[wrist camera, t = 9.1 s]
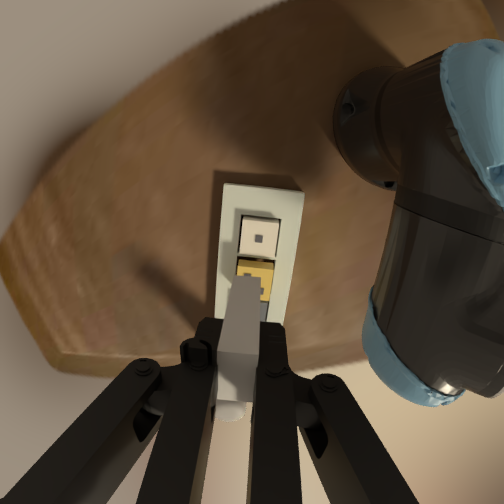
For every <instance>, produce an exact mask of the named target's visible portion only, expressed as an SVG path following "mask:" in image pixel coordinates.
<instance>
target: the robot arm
mask: <svg viewBox="0 0 504 504" xmlns="http://www.w3.org/2000/svg"><path fill="white" fill-rule="evenodd" d="M333 128H334V135H335V139H336V142H337V145H338V148H339V150H340V152H341V154H342V156H343V158H344V159H345V161H346V162H347V164H348V165H349V166H350V167H351V169H352V170H353V171H354V172H355V173H356V174H357V175H359V176H360V177H361V178H362V179H364V180H365V181H367V182H369V183H371V184H373V185H375V186H378V187H381V188H383V189H387V190H391V191H396V195H395V200H394V204H393V209H392V215H391V220H390V225H389V230H388V234H387V238H386V242H385V247H384V251H383V255H382V258H381V262H380V266H379V270H378V273H377V277H376V281H375V284H374V286H373V287H372V288H371V290H370V292H369V297H368V310H367V313H366V317H365V321H364V324H363V329H362V344H363V349H364V351H365V353H366V355H367V356H368V358H369V364H370V366H371V367H372V369H373V370H374V372H375V373H376V375H377V376H378V377H379V378H380V379H381V380H382V381H383V382H384V383H385V384H386V385H387V386H388V387H389V388H390V389H391V390H393V391H394V392H395V393H397V394H398V395H400V396H401V397H403V398H405V399H407V400H409V401H411V402H413V403H416V404H419V405H423V406H429V407H437V406H439V405H440V404H442V405H448V404H450V403H452V402H453V401H455V400H456V399H457V398H459V397H460V396H462V395H463V394H464V392H465V390H469V391H472V392H474V393H476V394H479V395H481V396H484V397H487V398H495V397H497V396H499V395H501V394H502V393H504V42H502V41H499V40H495V39H481V40H478V41H473V42H469V43H457V44H453V45H452V46H449V48H447V49H445V50H443V51H440V52H438V53H436V54H434V55H432V56H430V57H427V58H425V59H423V60H421V61H419V62H417V63H415V64H413V65H411V66H409V67H407V68H405V69H403V68H397V67H390V66H383V67H376V68H372V69H369V70H366V71H364V72H362V73H360V74H359V75H357V76H356V77H354V78H353V79H352V80H350V81H349V82H348V83H347V84H346V86H345V87H344V88H343V89H342V91H341V93H340V94H339V96H338V99H337V101H336V104H335V108H334V115H333ZM260 296H261V277H251V276H238V275H234V277H233V281H232V285H231V290H230V294H229V299H228V303H227V308H226V312H225V317H224V319H219V318H209V317H205V318H204V319H203V320H202V321H201V322H199V325H198V328H197V331H196V334H195V336H194V338H190V339H187V340H185V341H183V342H182V343H181V345H180V355H181V363H180V364H178V365H175V366H169V367H160V365H159V364H158V363H157V362H156V361H154V360H153V359H149V358H139V359H136V360H134V361H132V362H131V363H129V364H128V366H127V367H126V368H125V369H124V370H123V371H122V372H121V373H120V374H119V375H118V376H117V377H116V378H115V379H114V380H113V381H112V382H111V383H110V384H109V385H108V387H106V388H105V390H104V391H103V392H102V393H101V394H100V395H99V396H98V397H97V398H96V399H95V400H94V401H93V402H92V403H91V404H90V405H89V407H87V409H86V410H85V411H84V412H83V413H82V414H81V415H80V416H79V417H78V418H77V419H76V420H75V421H74V422H73V423H72V425H70V427H69V428H68V429H67V430H66V431H65V432H64V433H63V434H62V435H61V436H60V437H59V438H58V439H57V440H56V441H55V442H54V443H53V445H52V446H51V447H50V448H49V449H48V450H47V451H46V452H45V453H44V454H43V455H42V456H41V457H40V459H39V460H38V461H37V462H36V463H35V464H34V465H33V466H32V467H31V468H30V469H29V471H27V473H26V474H25V475H24V476H23V477H22V478H21V479H20V480H19V481H18V482H17V483H16V485H15V486H14V487H13V488H12V489H11V490H10V491H9V492H8V493H7V494H6V495H5V497H4V498H1V499H0V504H106V503H107V502H108V501H109V499H110V498H111V496H112V495H113V494H114V492H115V491H116V489H117V488H118V487H119V485H120V484H121V482H122V481H123V480H124V478H125V477H126V475H127V474H128V472H129V471H130V470H131V468H132V467H133V465H134V464H135V463H136V461H137V460H138V458H139V457H140V455H141V453H143V451H144V450H145V448H146V447H147V445H148V444H149V442H150V441H151V440H152V438H153V436H154V435H155V434H156V432H157V431H158V429H159V431H158V433H157V436H156V440H155V443H154V446H153V449H152V452H151V455H150V458H149V462H148V465H147V468H146V471H145V475H144V478H143V481H142V485H141V488H140V491H139V495H138V498H137V502H136V504H201V498H202V492H203V486H204V480H205V473H206V467H207V460H208V455H209V449H210V443H211V437H212V430H213V424H214V418H215V413H216V399H221V400H230V401H241V402H253V407H252V415H251V437H250V452H249V469H248V484H247V499H246V504H302V491H301V476H300V461H299V447H298V435H297V426H299V430H300V432H301V435H302V437H303V440H304V442H305V444H306V447H307V449H308V451H309V454H310V456H311V459H312V461H313V464H314V466H315V468H316V471H317V473H318V475H319V478H320V480H321V482H322V485H323V487H324V490H325V492H326V494H327V497H328V499H329V501H330V503H331V504H419V502H418V501H417V499H416V498H415V496H414V494H413V493H412V491H411V489H410V488H409V486H408V484H407V483H406V481H405V479H404V478H403V476H402V475H401V473H400V471H399V470H398V468H397V466H396V465H395V463H394V461H393V460H392V458H391V457H390V455H389V453H388V452H387V450H386V449H385V447H384V445H383V444H382V442H381V440H380V439H379V437H378V435H377V434H376V432H375V431H374V429H373V427H372V426H371V424H370V423H369V421H368V419H367V418H366V416H365V414H364V413H363V411H362V410H361V408H360V407H359V405H358V403H357V402H356V400H355V398H354V397H353V395H352V394H351V392H350V390H349V389H348V387H347V386H346V384H345V382H344V381H343V380H342V379H341V378H340V377H338V376H336V375H333V374H320V375H317V376H315V377H314V378H313V379H312V380H311V379H307V378H303V377H301V376H298V375H297V374H295V373H294V372H293V371H291V368H290V367H289V365H288V355H287V345H286V335H285V329H284V327H283V326H282V325H281V323H277V322H263V321H260Z"/></svg>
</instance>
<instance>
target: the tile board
mask: <svg viewBox="0 0 504 504" xmlns="http://www.w3.org/2000/svg"><path fill="white" fill-rule="evenodd" d="M304 197H305V193H304V192H302V191H295V190H287V189H279V188H271V187H262V186H253V185H244V184H234V183H225V184H224V189H223V200H222V212H221V225H220V238H219V252H218V267H217V282H216V299H215V318H219V319H224V317H225V312H226V308H227V303H228V299H229V294H230V290H231V285H232V281H233V277H234V275H236V266H237V256H244V257H253V258H262V259H271V260H275V261H274V272H273V279H272V285H271V292H270V299H269V301H268V308H267V314H266V321H265V322H277V323H281V325H282V326H283V321H284V316H285V311H286V305H287V300H288V294H289V289H290V283H291V278H292V272H293V266H294V260H295V254H296V248H297V242H298V236H299V230H300V223H301V217H302V210H303V203H304ZM241 214H243V215H252V216H261V217H270V218H278V219H280V225H279V233H278V240H277V247H276V252H275V258H274V257H265V256H256V255H246V254H239V252H240V248H238V245H239V234H240V224H241Z"/></svg>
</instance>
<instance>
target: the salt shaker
mask: <svg viewBox="0 0 504 504" xmlns="http://www.w3.org/2000/svg"><path fill="white" fill-rule="evenodd" d="M245 411H246V402H241V401H230V400H221V399H216V413H215V418H217V419H219V420H222V421H227V422H231V421H236V420H239V419H240V418H241V417H243V416H244V414H245Z"/></svg>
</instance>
